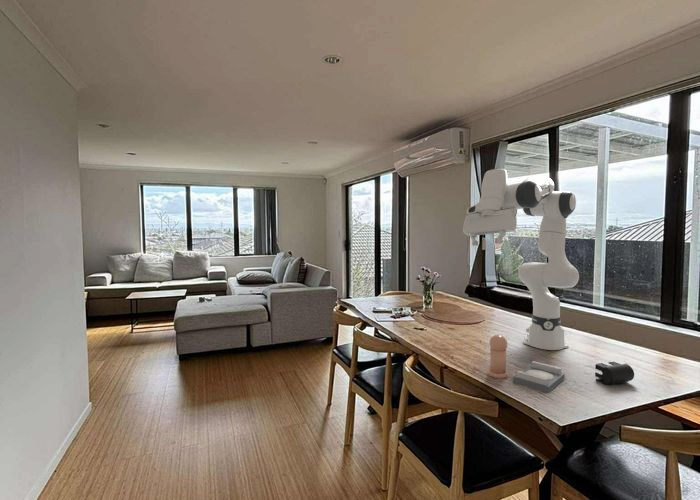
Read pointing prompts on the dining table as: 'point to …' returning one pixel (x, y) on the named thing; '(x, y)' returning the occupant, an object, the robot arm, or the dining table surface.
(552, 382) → the display plinth
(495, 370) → the ball-topped peg
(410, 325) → the dining table surface
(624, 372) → the end cap
